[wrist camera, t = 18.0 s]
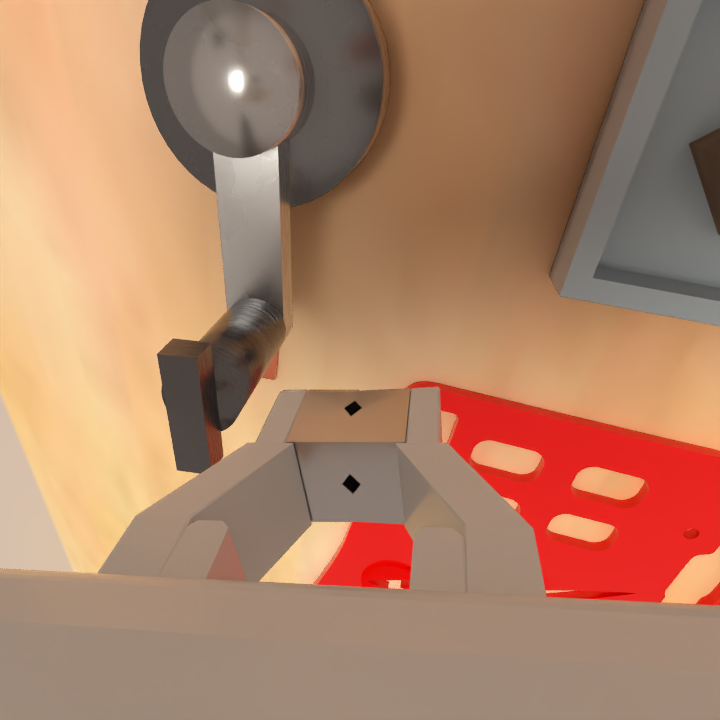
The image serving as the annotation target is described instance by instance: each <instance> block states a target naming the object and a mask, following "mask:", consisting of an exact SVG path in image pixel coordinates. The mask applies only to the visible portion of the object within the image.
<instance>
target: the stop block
mask: <svg viewBox="0 0 720 720" xmlns="http://www.w3.org/2000/svg"><path fill="white" fill-rule="evenodd" d="M689 146H690V149H691V152H692V155H693V159H694V162H695V165H696V168H697V171H698V174H699V177H700V180H701V183H702V186H703V189H704V193H705V196H706V199H707V202H708V205H709V208H710V211H711V214H712V217H713V220H714V223H715V227H716V230H717V233H718V235H720V128H719V129H717V130H715V131H713V132H711V133H709V134H707V135H705V136H703V137H701V138H699V139H697V140H695V141H693V142H691V143H689Z"/></svg>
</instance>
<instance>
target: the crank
mask: <svg viewBox="0 0 720 720" xmlns="http://www.w3.org/2000/svg"><path fill="white" fill-rule="evenodd" d="M163 75H164V83H165V89H166V93H167V96H168V100H169V102H170V105H171V107H172V110H173V112H174V114H175V115H176V117H177V119H178V121H179V122H180V124H181V125H182V127H183V128H184V129H185V130H186V131H187V133H188V134H189V135H190V136H191V137H192V138H193V139H194V140H195V141H197V142H198V143H199V144H200V145H202V146H203V147H205V148H206V149H208V150H210V151H212V152H213V159H214V170H215V181H216V192H217V203H218V214H219V225H220V236H221V247H222V258H223V269H224V280H225V291H226V302H227V312H226V313H225V314H224V315H223V316H222V317H221V318H220V319H219V320H218V321H217V322H216V324H215V325H214V326H213V327H212V328H211V329H210V330H209V331H208V332H207V333H206V334H205V335H204V336H203V337H202V339H201V340H200V341H190V340H181V339H172V340H171V341H170V342H169V343H168V344H167V345H166V346H165V347H164V348H163V349H162V350H161V351H160V352H159V353H158V354H157V357H158V363H159V368H160V374H161V380H162V398H163V401H164V404H165V406H166V409H167V415H168V420H169V426H170V432H171V438H172V443H173V449H174V455H175V461H176V467H177V470H179V471H186V472H193V473H200V474H201V473H202V472H204V471H205V470H207V469H208V468H210V467H211V466H213V465H214V464H216V463H218V462H219V461H220V460H221V459H222V457H223V448H222V439H221V431H223V430H225V429H227V428H228V427H230V426H231V425H232V424H233V423H234V421H235V420H236V418H237V417H238V415H239V413H240V412H241V410H242V408H243V407H244V405H245V404H246V402H247V400H248V399H249V397H250V395H251V394H252V392H253V391H254V389H255V387H256V386H257V384H258V382H259V381H260V379H261V378H262V376H263V374H264V373H265V371H266V369H267V368H268V366H269V365H270V363H271V361H272V360H273V358H274V356H275V355H276V353H277V352H278V350H279V348H280V347H281V345H282V343H283V342H284V340H285V338H286V337H287V335H288V333H289V332H290V330H291V329H292V327H293V314H292V268H291V222H290V176H289V140H291V139H292V138H293V137H294V136H295V135H297V134H298V133H299V131H300V130H301V129H302V128H303V126H304V125H305V123H306V121H307V119H308V117H309V115H310V113H311V109H312V106H313V102H314V96H315V76H314V70H313V65H312V62H311V58H310V56H309V53H308V51H307V49H306V47H305V45H304V43H303V41H302V40H301V38H300V37H299V36H298V34H297V33H296V32H295V31H294V30H293V28H292V27H291V26H290V25H288V24H287V23H286V22H285V21H284V20H282V19H281V18H279V17H278V16H276V15H274V14H272V13H270V12H268V11H265V10H262V9H259V8H256V7H253V6H250V5H247V4H244V3H241V2H237V1H234V0H210V1H206V2H203V3H201V4H198V5H196V6H195V7H193V8H191V9H190V10H189V11H187V12H186V13H185V14H184V15H183V16H182V17H181V18H180V20H179V21H178V22H177V23H176V25H175V26H174V28H173V30H172V32H171V34H170V36H169V39H168V41H167V45H166V48H165V54H164V61H163Z"/></svg>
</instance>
